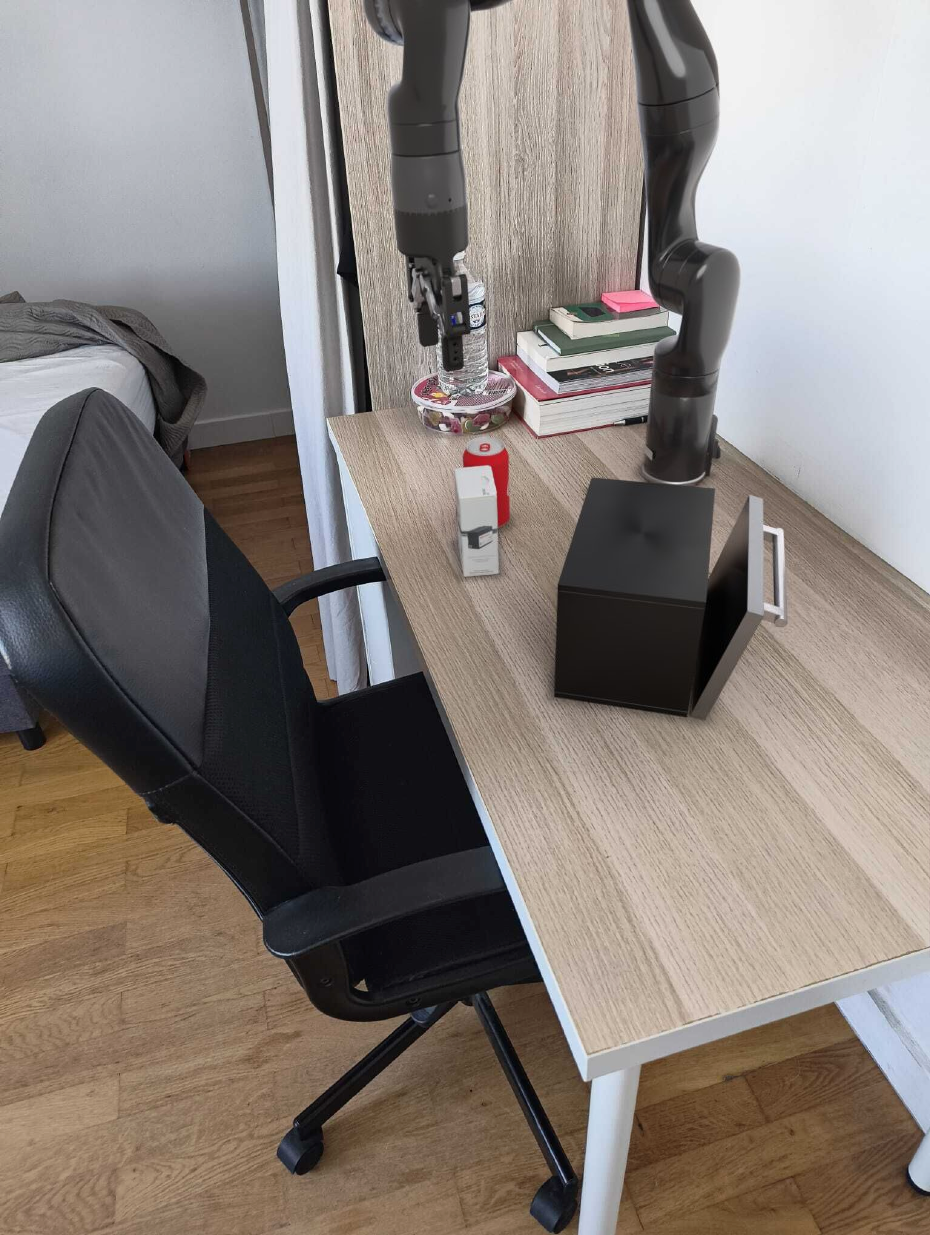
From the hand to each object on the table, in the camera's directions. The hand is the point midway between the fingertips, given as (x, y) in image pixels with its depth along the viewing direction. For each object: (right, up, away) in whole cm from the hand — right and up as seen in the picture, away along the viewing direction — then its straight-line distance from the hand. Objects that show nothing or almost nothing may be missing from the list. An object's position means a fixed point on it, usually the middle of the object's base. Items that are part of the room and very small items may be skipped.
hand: (441, 356), depth 95 cm
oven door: (+31, -34, 0) cm, 46 cm away
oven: (+22, -33, +2) cm, 39 cm away
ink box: (+4, -22, +18) cm, 28 cm away
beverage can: (+6, -16, +25) cm, 30 cm away
